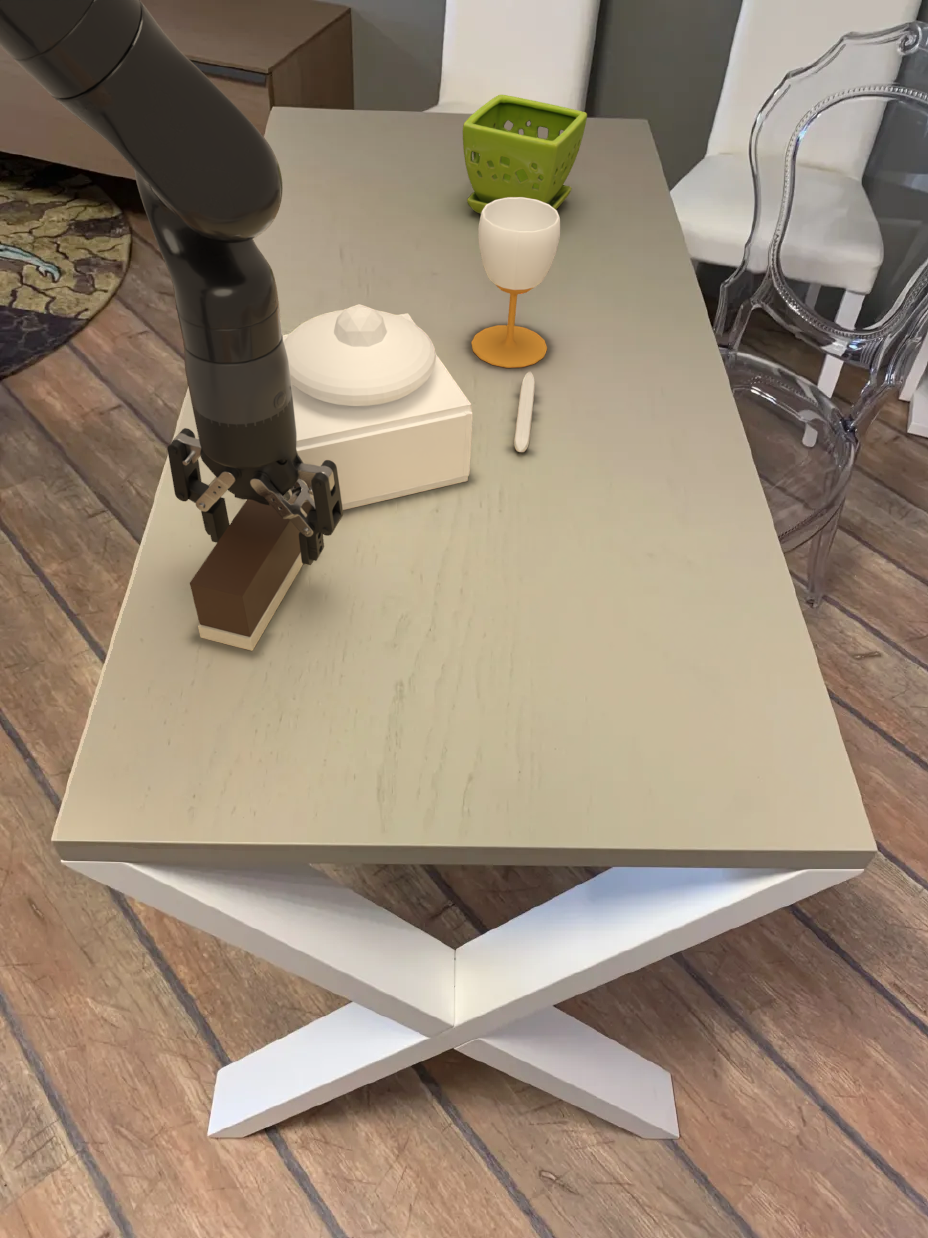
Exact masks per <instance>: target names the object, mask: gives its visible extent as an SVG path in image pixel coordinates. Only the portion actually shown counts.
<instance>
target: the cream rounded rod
mask: <svg viewBox="0 0 928 1238" xmlns="http://www.w3.org/2000/svg"><path fill="white" fill-rule="evenodd" d="M535 386H536V384H535V377H534V375H533V373H532V372H531V370H530V371H528V372H527V373H525V375H524V377H523V378H522V382H521V386H520V390H519V399H518V407H517V415H516V423H515V431H514V439H513V445H514V448H515V450H516V452H519V453H524V452H526V451H527V449H528V447H529V444H530V437H531V427H532V419H533V408H534V400H535V392H536V387H535Z"/></svg>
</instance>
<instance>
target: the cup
mask: <svg viewBox="0 0 928 1238" xmlns="http://www.w3.org/2000/svg"><path fill="white" fill-rule="evenodd" d="M560 217H561V216H560V214H559V212H558V210H557V209H556V210H555V209H554V208H553V207H552V206H550V205H549V204H547V203H544V202H541V201H539V200H535V199H530V198H524V197H508V198H503V199H498V200H494V201H493V202H491V203H489V204H487V205H486V206H485V207H484V209H483V210H482V212H481V214H480V218H479V222H478V223H479V224H478V227H477V228H478V229H477V230H478V231H477V234H478V248H479V252H480V253H479V254H480V258H481V262H482V266H483V269H484V272H485V274H486V276H487V278H488V280H489V281H490V282H491V283H493V284H494V285H495V286H496V287H497V288H498V289H499V290H500V291H501V292H503V293H506V294H509V301H508V302H509V304H508V313H507V314H508V315H507V324H499V325H494V326H490V327H485V328H484V329H482V330H481V331H479V332H477V333H475V335H474V336H473V338H472V340H471V344H470V345H471V349H472V352H473V353H474V354H475V355H476V356H477V357H478V358H479V359H480V360H481V361H483V362H486V363H488V364H489V365H492V366H496V367H500V368H501V367H502V368H506V369H513V368H515V369H516V368H525V367H529V366H532V365H536V363H538V362H540V361H541V360H542V359H544V358H545V356H546V354H547V351H548V346H547V344H546V340H545V339H544V338H543V337H541V336H540V335H539V334H538V333H537V332H535V331H534V330H531V329H529V328H527V327H524V326H519V325H516V313H517V304H518V303H517V302H518V295H522V294H523V295H524V294H527V293H528V292H530V291H531V290H533V289H535V288H536V287H537V286H539V285H540V284H542V282H543V281H544V279H545V278H546V276H547V274H548V273H549V271H550V269H551V267H552V264H553V262H554V259H555V258H556V255H557V252H558V248H559V242H560V238H561V218H560Z"/></svg>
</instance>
